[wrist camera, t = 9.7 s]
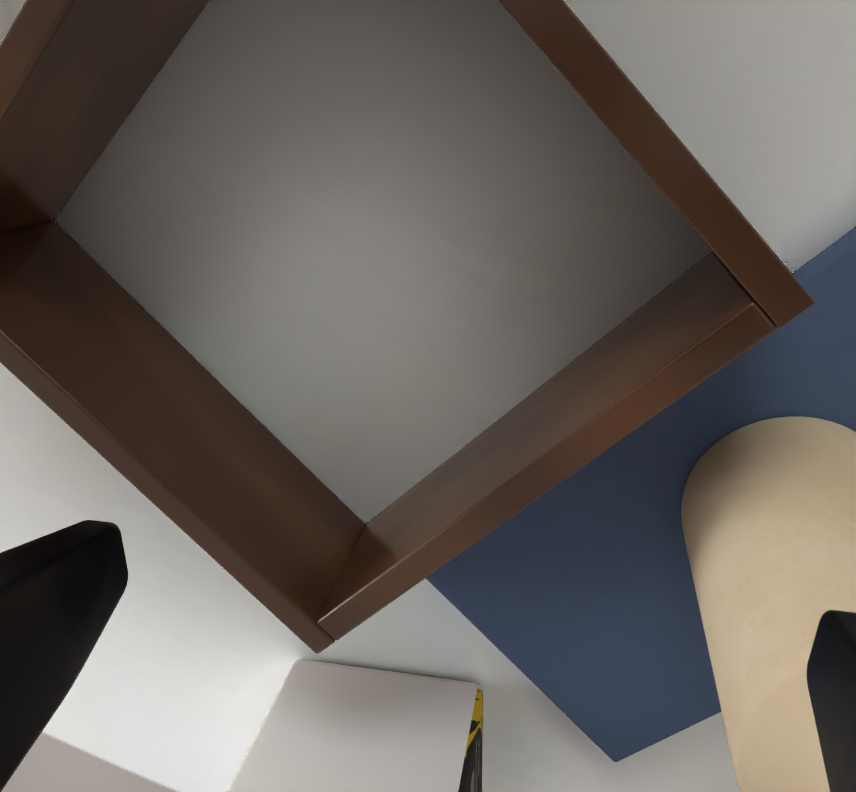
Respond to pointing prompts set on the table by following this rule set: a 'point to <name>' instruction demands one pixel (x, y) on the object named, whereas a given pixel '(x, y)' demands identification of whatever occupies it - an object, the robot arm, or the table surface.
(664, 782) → the table surface
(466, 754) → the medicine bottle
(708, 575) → the candle
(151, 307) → the table surface
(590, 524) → the mat
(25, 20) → the crate
